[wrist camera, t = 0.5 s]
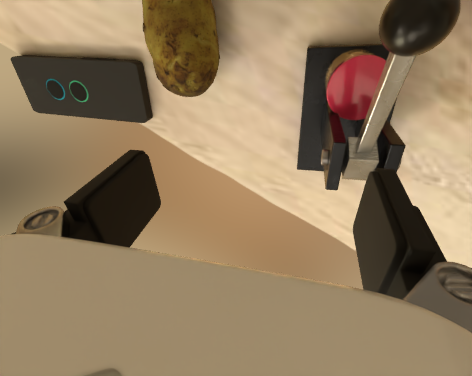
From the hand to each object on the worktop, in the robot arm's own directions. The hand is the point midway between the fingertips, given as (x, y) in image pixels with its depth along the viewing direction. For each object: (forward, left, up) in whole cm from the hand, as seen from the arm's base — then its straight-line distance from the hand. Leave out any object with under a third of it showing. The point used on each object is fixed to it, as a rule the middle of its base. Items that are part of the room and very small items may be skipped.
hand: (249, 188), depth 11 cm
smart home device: (+1, -29, -24) cm, 38 cm away
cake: (0, +7, -23) cm, 24 cm away
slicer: (+4, +7, -24) cm, 26 cm away
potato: (-6, -11, -24) cm, 27 cm away
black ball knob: (-1, +7, -11) cm, 13 cm away
